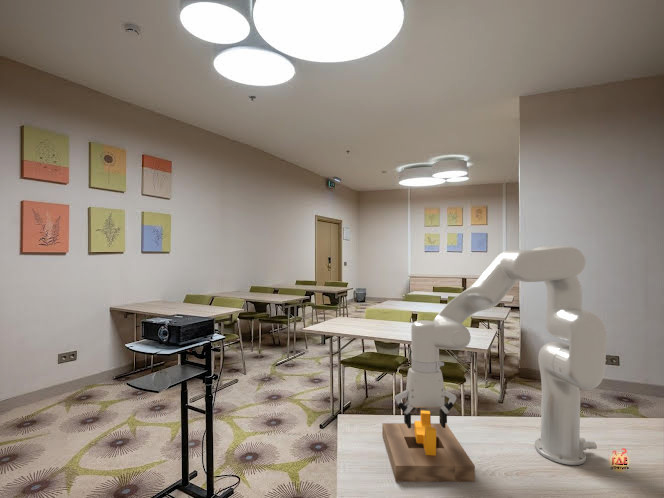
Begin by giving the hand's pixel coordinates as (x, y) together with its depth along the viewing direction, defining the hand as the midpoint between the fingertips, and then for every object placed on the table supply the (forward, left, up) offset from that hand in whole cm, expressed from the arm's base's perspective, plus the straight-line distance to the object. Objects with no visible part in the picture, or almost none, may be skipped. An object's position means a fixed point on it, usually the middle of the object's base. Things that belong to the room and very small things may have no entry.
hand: (425, 425), depth 103 cm
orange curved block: (0, 0, -5) cm, 5 cm away
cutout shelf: (0, 0, -9) cm, 9 cm away
